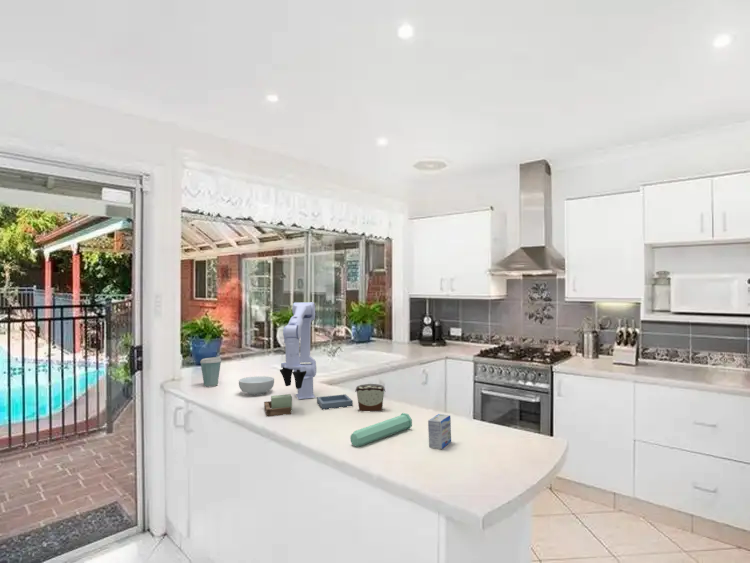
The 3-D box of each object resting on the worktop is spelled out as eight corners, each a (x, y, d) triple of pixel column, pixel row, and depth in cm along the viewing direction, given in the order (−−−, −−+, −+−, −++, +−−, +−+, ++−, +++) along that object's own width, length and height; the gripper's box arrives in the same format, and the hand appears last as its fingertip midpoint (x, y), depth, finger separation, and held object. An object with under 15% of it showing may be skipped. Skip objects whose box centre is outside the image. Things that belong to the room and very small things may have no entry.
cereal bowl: (269, 397, 208) (269, 382, 208) (234, 398, 208) (233, 383, 208) (278, 389, 225) (277, 375, 225) (245, 389, 225) (245, 375, 225)
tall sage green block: (271, 410, 186) (271, 395, 186) (290, 408, 189) (290, 394, 189) (272, 413, 182) (272, 398, 182) (292, 410, 184) (291, 396, 184)
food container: (386, 407, 186) (386, 383, 186) (385, 411, 180) (385, 386, 180) (357, 407, 187) (357, 383, 187) (355, 411, 181) (355, 386, 181)
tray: (317, 402, 196) (316, 397, 196) (345, 399, 200) (345, 394, 200) (322, 409, 184) (322, 403, 184) (352, 406, 188) (352, 400, 188)
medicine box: (441, 450, 136) (440, 421, 137) (428, 447, 139) (427, 419, 139) (451, 442, 143) (450, 415, 143) (438, 439, 145) (438, 413, 146)
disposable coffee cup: (196, 387, 232) (195, 359, 232) (207, 383, 242) (206, 355, 243) (215, 388, 230) (214, 359, 230) (225, 383, 241) (225, 355, 241)
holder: (264, 407, 190) (264, 401, 190) (286, 405, 193) (286, 399, 193) (266, 416, 177) (266, 410, 177) (291, 413, 179) (290, 407, 179)
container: (355, 429, 140) (409, 411, 157) (345, 432, 144) (398, 414, 161) (361, 448, 138) (414, 427, 155) (350, 451, 142) (403, 431, 159)
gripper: (274, 353, 186) (275, 386, 186) (294, 357, 176) (295, 391, 176) (288, 351, 191) (289, 383, 191) (309, 354, 181) (309, 388, 181)
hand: (293, 387), depth 184 cm, fingers open, 7 cm apart
